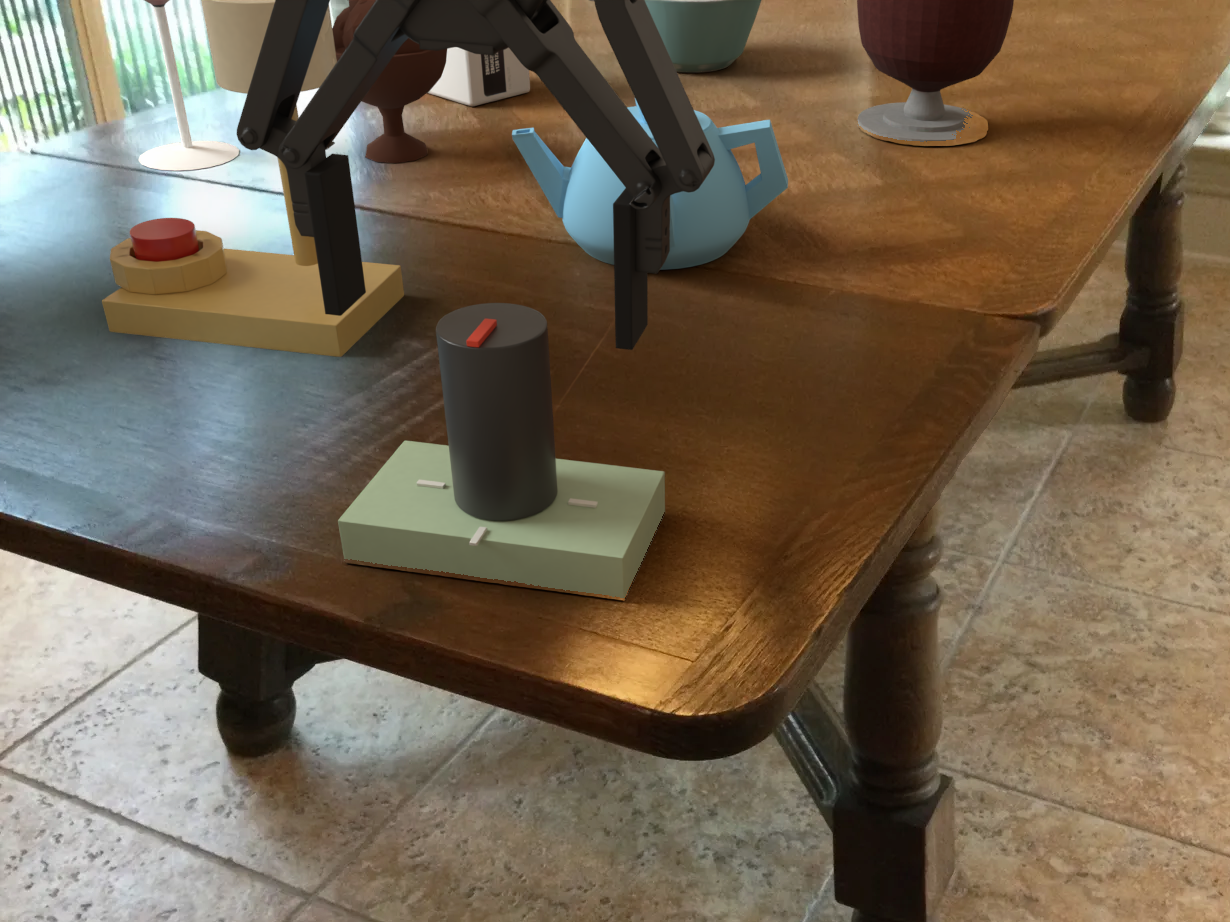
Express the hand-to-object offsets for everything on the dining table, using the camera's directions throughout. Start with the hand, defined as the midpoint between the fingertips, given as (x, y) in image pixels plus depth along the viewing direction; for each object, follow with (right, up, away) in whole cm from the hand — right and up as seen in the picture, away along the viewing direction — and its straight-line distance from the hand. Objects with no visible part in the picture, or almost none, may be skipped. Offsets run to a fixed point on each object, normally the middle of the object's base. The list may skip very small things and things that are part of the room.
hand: (486, 320), depth 61 cm
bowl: (+7, +41, +84) cm, 94 cm away
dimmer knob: (0, -8, +5) cm, 9 cm away
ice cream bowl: (-18, +24, +57) cm, 64 cm away
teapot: (+6, +12, +40) cm, 43 cm away
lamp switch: (-26, +9, +27) cm, 39 cm away
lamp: (-16, +8, +26) cm, 31 cm away
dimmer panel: (0, -10, +6) cm, 12 cm away
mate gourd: (+30, +29, +66) cm, 78 cm away
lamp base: (-20, +5, +28) cm, 35 cm away
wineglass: (-35, +23, +56) cm, 70 cm away
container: (-14, +35, +73) cm, 82 cm away
